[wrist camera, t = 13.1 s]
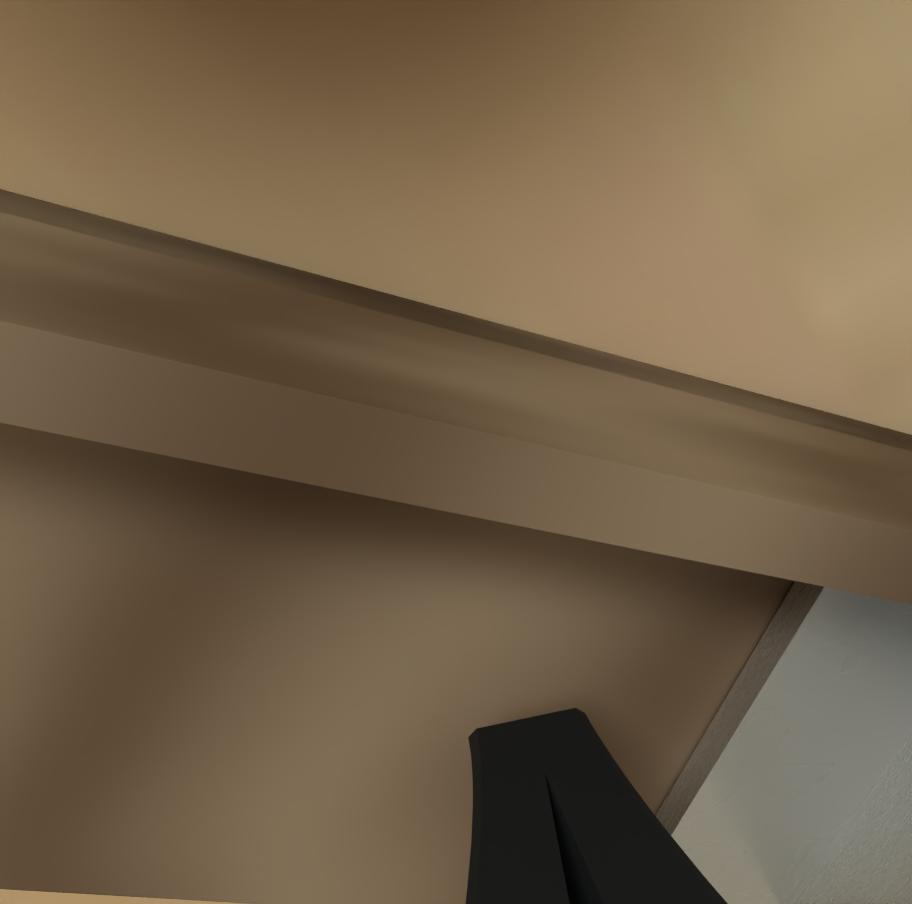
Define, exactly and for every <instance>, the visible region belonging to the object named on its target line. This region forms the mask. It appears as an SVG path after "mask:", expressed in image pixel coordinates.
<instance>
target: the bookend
mask: <svg viewBox="0 0 912 904" xmlns="http://www.w3.org/2000/svg"><path fill="white" fill-rule="evenodd" d="M656 817H657V819H658V820H659V821H660V823H661V824H662V825H663V826H664V828H665V829H666V830H667V831H668V833H669V834H670V835H671V836H672V837H673V839H674V840H675V841H676V842H677V844H678V845H679V846H680V847H681V849H682V850H683V851H684V852H685V853H686V855H687V856H688V857H689V858H690V860H691V861H692V862H693V863H694V864H695V866H696V867H697V868H698V869H699V871H700V872H701V873H702V874H703V875H704V877H705V878H706V879H707V880H708V881H709V882H710V884H711V885H712V886H713V887H714V888H715V889H716V891H717V892H718V893H719V894H720V895H721V896H722V897H723V899H724V900H725V901H726V902H727V903H728V904H912V604H908V603H903V602H898V601H893V600H888V599H883V598H878V597H873V596H868V595H863V594H858V593H853V592H848V591H843V590H838V589H833V588H828V587H823V586H818V585H813V584H808V583H803V582H798V581H795V582H794V584H793V586H792V587H791V589H790V591H789V592H788V594H787V596H786V597H785V599H784V601H783V603H782V604H781V606H780V608H779V609H778V611H777V613H776V614H775V616H774V618H773V619H772V621H771V623H770V624H769V626H768V628H767V629H766V631H765V633H764V634H763V636H762V638H761V639H760V641H759V643H758V644H757V646H756V648H755V649H754V651H753V653H752V655H751V656H750V658H749V660H748V661H747V663H746V665H745V666H744V668H743V670H742V671H741V673H740V675H739V676H738V678H737V680H736V681H735V683H734V685H733V686H732V688H731V690H730V691H729V693H728V695H727V696H726V698H725V700H724V702H723V703H722V705H721V707H720V708H719V710H718V712H717V713H716V715H715V717H714V718H713V720H712V722H711V723H710V725H709V727H708V728H707V730H706V732H705V733H704V735H703V737H702V738H701V740H700V742H699V743H698V745H697V747H696V748H695V750H694V752H693V754H692V755H691V757H690V759H689V760H688V762H687V764H686V765H685V767H684V769H683V770H682V772H681V774H680V775H679V777H678V779H677V780H676V782H675V784H674V785H673V787H672V789H671V790H670V792H669V794H668V795H667V797H666V799H665V801H664V802H663V804H662V806H661V807H660V809H659V811H658V812H657V814H656Z"/></svg>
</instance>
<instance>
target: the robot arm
mask: <svg viewBox="0 0 912 904" xmlns="http://www.w3.org/2000/svg"><path fill="white" fill-rule="evenodd" d="M468 739H469V746H470V752H471V761H472V778H473V812H472V837H471V851H470V862H469V873H468V884H467V895H466V904H728V903H727V902H726V901H725V900H724V899H723V897H722V896H721V895H720V894H719V893H718V892H717V891H716V889H715V888H714V887H713V886H712V885H711V884H710V882H709V881H708V880H707V879H706V878H705V877H704V875H703V874H702V873H701V872H700V871H699V869H698V868H697V867H696V866H695V864H694V863H693V862H692V861H691V860H690V858H689V857H688V856H687V855H686V853H685V852H684V851H683V850H682V849H681V847H680V846H679V845H678V844H677V842H676V841H675V840H674V839H673V837H672V836H671V835H670V834H669V833H668V831H667V830H666V829H665V828H664V826H663V825H662V824H661V823H660V821H659V820H658V819H657V817H656V816H655V815H654V814H653V812H652V811H651V810H650V808H649V807H648V806H647V804H646V803H645V802H644V800H643V799H642V798H641V796H640V795H639V794H638V792H637V791H636V790H635V788H634V787H633V785H632V784H631V783H630V781H629V780H628V779H627V777H626V776H625V774H624V773H623V772H622V770H621V769H620V767H619V766H618V764H617V763H616V762H615V760H614V759H613V757H612V756H611V754H610V753H609V751H608V750H607V748H606V747H605V745H604V744H603V742H602V740H601V739H600V737H599V736H598V734H597V733H596V731H595V729H594V728H593V726H592V724H591V723H590V721H589V719H588V717H587V716H586V714H585V713H584V712H582V711H581V710H579V709H577V708H572V709H567V710H562V711H557V712H553V713H548V714H543V715H538V716H534V717H529V718H524V719H519V720H515V721H510V722H505V723H500V724H496V725H491V726H486V727H481V728H477V729H476V730H475V731H474V732H473V733H472V734H471V735H470V736H469V737H468Z"/></svg>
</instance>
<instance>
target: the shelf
mask: <svg viewBox="0 0 912 904" xmlns="http://www.w3.org/2000/svg"><path fill="white" fill-rule="evenodd" d="M795 581H798V582H803V583H808V584H813V585H818V586H823V587H828V588H833V589H838V590H843V591H848V592H853V593H858V594H863V595H868V596H873V597H878V598H883V599H888V600H893V601H898V602H903V603H908V604H912V435H909V434H906V433H902V432H898V431H895V430H891V429H887V428H883V427H880V426H876V425H872V424H869V423H865V422H861V421H857V420H854V419H850V418H846V417H843V416H839V415H835V414H832V413H828V412H824V411H820V410H817V409H813V408H809V407H806V406H802V405H798V404H794V403H791V402H787V401H783V400H780V399H776V398H772V397H769V396H765V395H761V394H757V393H754V392H750V391H746V390H743V389H739V388H735V387H731V386H728V385H724V384H720V383H717V382H713V381H709V380H705V379H702V378H698V377H694V376H691V375H687V374H683V373H680V372H676V371H672V370H668V369H665V368H661V367H657V366H654V365H650V364H646V363H642V362H639V361H635V360H631V359H628V358H624V357H620V356H617V355H613V354H609V353H605V352H602V351H598V350H594V349H591V348H587V347H583V346H579V345H576V344H572V343H568V342H565V341H561V340H557V339H554V338H550V337H546V336H542V335H539V334H535V333H531V332H528V331H524V330H520V329H516V328H513V327H509V326H505V325H502V324H498V323H494V322H490V321H487V320H483V319H479V318H476V317H472V316H468V315H465V314H461V313H457V312H453V311H450V310H446V309H442V308H439V307H435V306H431V305H427V304H424V303H420V302H416V301H413V300H409V299H405V298H402V297H398V296H394V295H390V294H387V293H383V292H379V291H376V290H372V289H368V288H364V287H361V286H357V285H353V284H350V283H346V282H342V281H339V280H335V279H331V278H327V277H324V276H320V275H316V274H313V273H309V272H305V271H301V270H298V269H294V268H290V267H287V266H283V265H279V264H276V263H272V262H268V261H264V260H261V259H257V258H253V257H250V256H246V255H242V254H238V253H235V252H231V251H227V250H224V249H220V248H216V247H212V246H209V245H205V244H201V243H198V242H194V241H190V240H187V239H183V238H179V237H175V236H172V235H168V234H164V233H161V232H157V231H153V230H149V229H146V228H142V227H138V226H135V225H131V224H127V223H124V222H120V221H116V220H112V219H109V218H105V217H101V216H98V215H94V214H90V213H86V212H83V211H79V210H75V209H72V208H68V207H64V206H61V205H57V204H53V203H49V202H46V201H42V200H38V199H35V198H31V197H27V196H23V195H20V194H16V193H12V192H9V191H5V190H1V189H0V889H10V890H27V891H44V892H62V893H79V894H96V895H113V896H130V897H147V898H165V899H182V900H199V901H216V902H233V903H251V904H466V895H467V884H468V873H469V862H470V851H471V837H472V812H473V778H472V761H471V752H470V746H469V739H468V737H469V736H470V735H471V734H472V733H473V732H474V731H475V730H476V729H477V728H481V727H486V726H491V725H496V724H500V723H505V722H510V721H515V720H519V719H524V718H529V717H534V716H538V715H543V714H548V713H553V712H557V711H562V710H567V709H572V708H577V709H579V710H581V711H582V712H584V713H585V714H586V716H587V717H588V719H589V721H590V723H591V724H592V726H593V728H594V729H595V731H596V733H597V734H598V736H599V737H600V739H601V740H602V742H603V744H604V745H605V747H606V748H607V750H608V751H609V753H610V754H611V756H612V757H613V759H614V760H615V762H616V763H617V764H618V766H619V767H620V769H621V770H622V772H623V773H624V774H625V776H626V777H627V779H628V780H629V781H630V783H631V784H632V785H633V787H634V788H635V790H636V791H637V792H638V794H639V795H640V796H641V798H642V799H643V800H644V802H645V803H646V804H647V806H648V807H649V808H650V810H651V811H652V812H653V814H654V815H655V816H656V814H657V812H658V811H659V809H660V807H661V806H662V804H663V802H664V801H665V799H666V797H667V795H668V794H669V792H670V790H671V789H672V787H673V785H674V784H675V782H676V780H677V779H678V777H679V775H680V774H681V772H682V770H683V769H684V767H685V765H686V764H687V762H688V760H689V759H690V757H691V755H692V754H693V752H694V750H695V748H696V747H697V745H698V743H699V742H700V740H701V738H702V737H703V735H704V733H705V732H706V730H707V728H708V727H709V725H710V723H711V722H712V720H713V718H714V717H715V715H716V713H717V712H718V710H719V708H720V707H721V705H722V703H723V702H724V700H725V698H726V696H727V695H728V693H729V691H730V690H731V688H732V686H733V685H734V683H735V681H736V680H737V678H738V676H739V675H740V673H741V671H742V670H743V668H744V666H745V665H746V663H747V661H748V660H749V658H750V656H751V655H752V653H753V651H754V649H755V648H756V646H757V644H758V643H759V641H760V639H761V638H762V636H763V634H764V633H765V631H766V629H767V628H768V626H769V624H770V623H771V621H772V619H773V618H774V616H775V614H776V613H777V611H778V609H779V608H780V606H781V604H782V603H783V601H784V599H785V597H786V596H787V594H788V592H789V591H790V589H791V587H792V586H793V584H794V582H795Z"/></svg>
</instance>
